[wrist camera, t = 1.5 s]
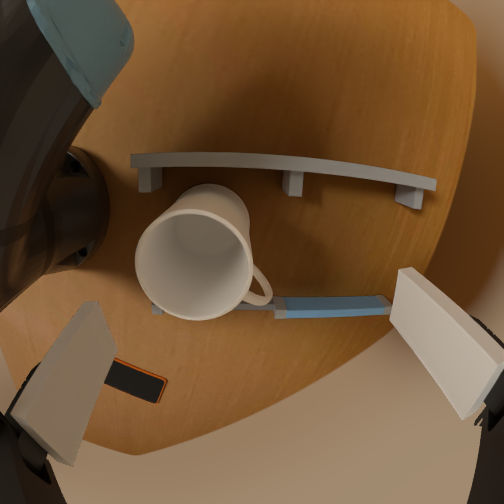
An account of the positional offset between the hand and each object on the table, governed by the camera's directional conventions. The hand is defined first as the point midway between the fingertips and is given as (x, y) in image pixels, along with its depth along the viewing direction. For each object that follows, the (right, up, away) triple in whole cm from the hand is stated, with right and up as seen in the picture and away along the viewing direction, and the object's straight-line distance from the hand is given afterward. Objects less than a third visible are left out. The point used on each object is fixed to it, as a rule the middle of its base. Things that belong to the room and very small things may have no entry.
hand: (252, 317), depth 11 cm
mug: (-3, +5, +19) cm, 19 cm away
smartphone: (-22, -16, +26) cm, 37 cm away
